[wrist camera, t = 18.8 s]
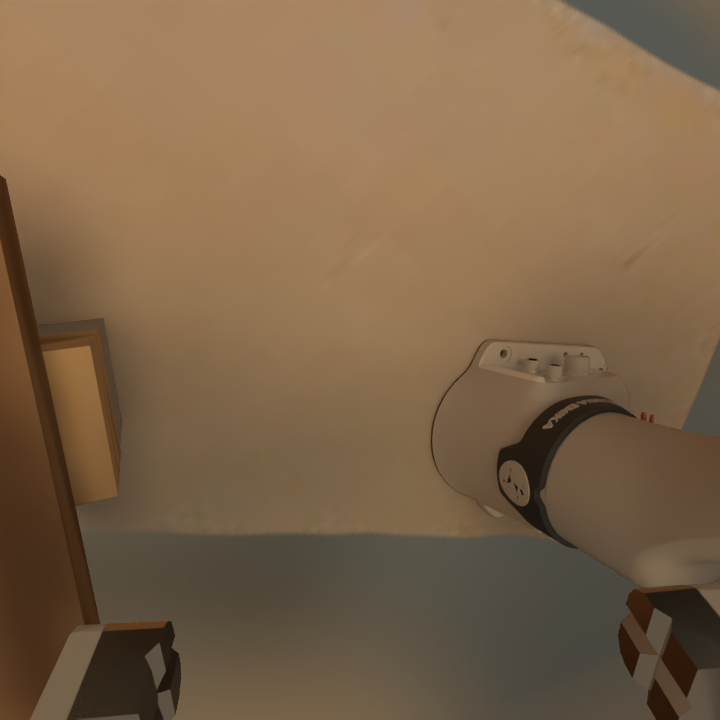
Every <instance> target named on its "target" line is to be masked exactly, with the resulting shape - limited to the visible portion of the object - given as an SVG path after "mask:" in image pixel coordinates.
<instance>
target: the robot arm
mask: <svg viewBox="0 0 720 720" xmlns="http://www.w3.org/2000/svg"><path fill="white" fill-rule="evenodd" d="M501 351H503V353H502V355H501V356H500V352H501ZM432 447H433V454H434V459H435V462H436V465H437V468H438V470H439V472H440V474H441V475H442V477H443V478H444V480H445V481H446V482H447V483H448V484H449V485H450V486H451V487H452V488H453V489H455V490H456V491H458V492H460V493H462V494H464V495H467V496H469V497H471V498H473V499H475V500H476V501H477V502H478V503H479V505H480V506H481V507H482V509H483V510H484V511H485V512H486V513H488V514H489V515H491V516H493V517H496V518H499V517H502V516H506V517H508V518H510V519H512V520H514V521H516V522H518V523H520V524H522V525H524V526H526V527H528V528H530V529H532V530H534V531H536V532H540V533H543V535H545V536H547V537H548V538H550V539H552V540H554V541H556V542H559V543H561V544H563V545H565V546H567V547H571V548H576V549H580V550H582V551H583V552H585V553H586V554H588V555H589V556H591V557H593V558H594V559H596V560H597V561H599V562H600V563H602V564H604V565H605V566H607V567H608V568H610V569H611V570H613V571H615V572H616V573H618V574H619V575H621V576H622V577H624V578H625V579H627V580H629V581H630V582H632V583H633V584H635V585H636V586H638V587H640V588H638V589H634V590H632V591H631V592H630V593H629V596H628V599H627V602H626V605H627V606H628V608H629V609H630V611H631V613H630V614H629V615H628V616H627V617H626V618H625V619H623V620H622V621H621V624H620V628H619V633H618V640H619V647H620V653H621V655H622V658H623V661H624V664H625V666H626V667H627V669H628V671H629V673H630V675H631V676H632V678H633V679H634V680H635V681H637V682H638V683H639V684H641V685H642V686H643V687H645V688H646V689H647V690H648V696H647V705H648V707H649V708H650V710H651V712H652V713H653V715H654V717H655V719H656V720H720V585H719V584H717V582H718V581H720V436H712V435H703V434H698V433H694V432H689V431H684V430H679V429H675V428H671V427H667V426H663V425H659V424H656V423H654V415H653V414H651V416H650V421H649V422H648V421H647V417H646V414H645V412H642V413H641V419H638V418H636V417H635V416H634V415H633V414H631V405H630V398H629V393H628V390H627V387H626V385H625V383H624V381H623V380H622V379H621V378H620V377H619V376H618V375H616V374H614V373H610V372H608V368H607V365H606V362H605V359H604V357H603V355H602V353H601V352H600V350H599V349H598V348H596V347H593V346H588V345H574V344H557V343H541V342H524V341H507V340H487V341H485V342H484V343H483V344H482V345H481V347H480V348H479V350H478V352H477V354H476V356H475V358H474V360H473V362H472V364H471V366H470V368H469V369H468V370H467V371H466V372H465V373H464V374H463V375H462V376H461V377H460V378H459V379H458V380H457V381H456V382H455V383H454V385H453V386H452V387H451V388H450V390H449V391H448V392H447V394H446V396H445V397H444V399H443V401H442V403H441V405H440V407H439V409H438V412H437V415H436V418H435V422H434V427H433V435H432ZM174 637H175V633H174V629H173V625H172V622H171V621H160V622H159V621H158V622H133V623H109V624H93V625H78V626H77V627H76V628H75V629H74V630H73V631H72V633H71V634H70V635H69V637H68V639H67V641H66V643H65V645H64V648H63V650H62V652H61V654H60V656H59V658H58V660H57V662H56V665H55V667H54V669H53V671H52V673H51V675H50V677H49V679H48V682H47V684H46V686H45V688H44V690H43V692H42V694H41V696H40V699H39V701H38V703H37V705H36V707H35V709H34V711H33V714H32V716H31V718H30V720H171V719H172V718H173V717H174V716H175V714H176V710H177V705H178V700H179V693H180V684H181V663H180V658H179V653H177V652H176V651H175V650H174V649H172V645H173V641H174Z"/></svg>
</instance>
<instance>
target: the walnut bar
mask: <svg viewBox="0 0 720 720" xmlns="http://www.w3.org/2000/svg"><path fill="white" fill-rule="evenodd" d="M93 624H100V621H99V617H98V612H97V607H96V602H95V598H94V593H93V588H92V584H91V579H90V574H89V569H88V565H87V560H86V555H85V551H84V546H83V541H82V536H81V532H80V527H79V522H78V518H77V513H76V508H75V503H74V499H73V494H72V489H71V485H70V480H69V475H68V470H67V466H66V461H65V456H64V452H63V447H62V442H61V437H60V433H59V428H58V423H57V419H56V414H55V409H54V404H53V400H52V395H51V390H50V386H49V381H48V376H47V371H46V367H45V362H44V357H43V353H42V348H41V343H40V338H39V334H38V329H37V324H36V320H35V315H34V310H33V305H32V301H31V296H30V291H29V287H28V282H27V277H26V272H25V268H24V263H23V258H22V254H21V249H20V244H19V239H18V235H17V230H16V225H15V221H14V216H13V211H12V206H11V202H10V197H9V192H8V188H7V183H6V179H5V178H3V177H2V176H0V720H30V718H31V716H32V714H33V711H34V709H35V707H36V705H37V703H38V701H39V699H40V696H41V694H42V692H43V690H44V688H45V686H46V684H47V682H48V679H49V677H50V675H51V673H52V671H53V669H54V667H55V665H56V662H57V660H58V658H59V656H60V654H61V652H62V650H63V648H64V645H65V643H66V641H67V639H68V637H69V635H70V634H71V633H72V631H73V630H74V629H75V628H76V627H77V626H78V625H93Z"/></svg>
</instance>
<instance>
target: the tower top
mask: <svg viewBox="0 0 720 720" xmlns="http://www.w3.org/2000/svg"><path fill="white" fill-rule="evenodd" d="M39 338H40V343H41V348H42V353H43V357H44V362H45V367H46V371H47V376H48V381H49V386H50V390H51V395H52V400H53V404H54V409H55V414H56V419H57V423H58V428H59V433H60V437H61V442H62V447H63V452H64V456H65V461H66V466H67V470H68V475H69V480H70V485H71V489H72V494H73V499H74V503H75V506H77V505H82V504H86V503H90V502H95V501H99V500H104V499H108V498H113V497H117V496H118V490H119V471H120V452H121V451H120V445H119V440H118V434H117V429H116V424H115V418H114V413H113V407H112V402H111V396H110V391H109V385H108V380H107V374H106V369H105V363H104V358H103V352H102V347H101V342H100V336H99V331H98V329H94V330H86V331H78V332H70V333H61V334H53V335H45V336H39Z"/></svg>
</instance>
